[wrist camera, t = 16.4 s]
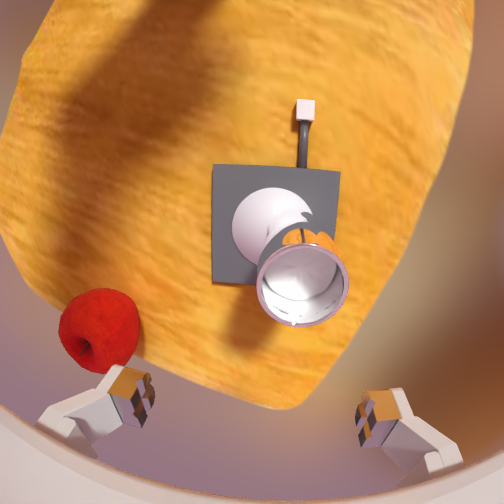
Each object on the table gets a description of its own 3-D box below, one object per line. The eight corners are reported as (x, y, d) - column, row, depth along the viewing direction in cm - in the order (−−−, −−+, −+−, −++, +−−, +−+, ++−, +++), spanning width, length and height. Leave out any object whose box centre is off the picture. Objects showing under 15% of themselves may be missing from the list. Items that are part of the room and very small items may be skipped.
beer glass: (272, 264, 35) (267, 337, 21) (257, 211, 33) (240, 254, 19) (327, 252, 34) (356, 318, 19) (315, 197, 31) (343, 229, 17)
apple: (96, 323, 43) (54, 367, 30) (92, 264, 39) (37, 301, 26) (154, 344, 43) (120, 399, 30) (156, 283, 39) (110, 333, 26)
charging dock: (217, 100, 30) (214, 97, 28) (341, 106, 29) (344, 104, 27) (214, 278, 37) (211, 283, 36) (325, 286, 36) (327, 291, 35)
